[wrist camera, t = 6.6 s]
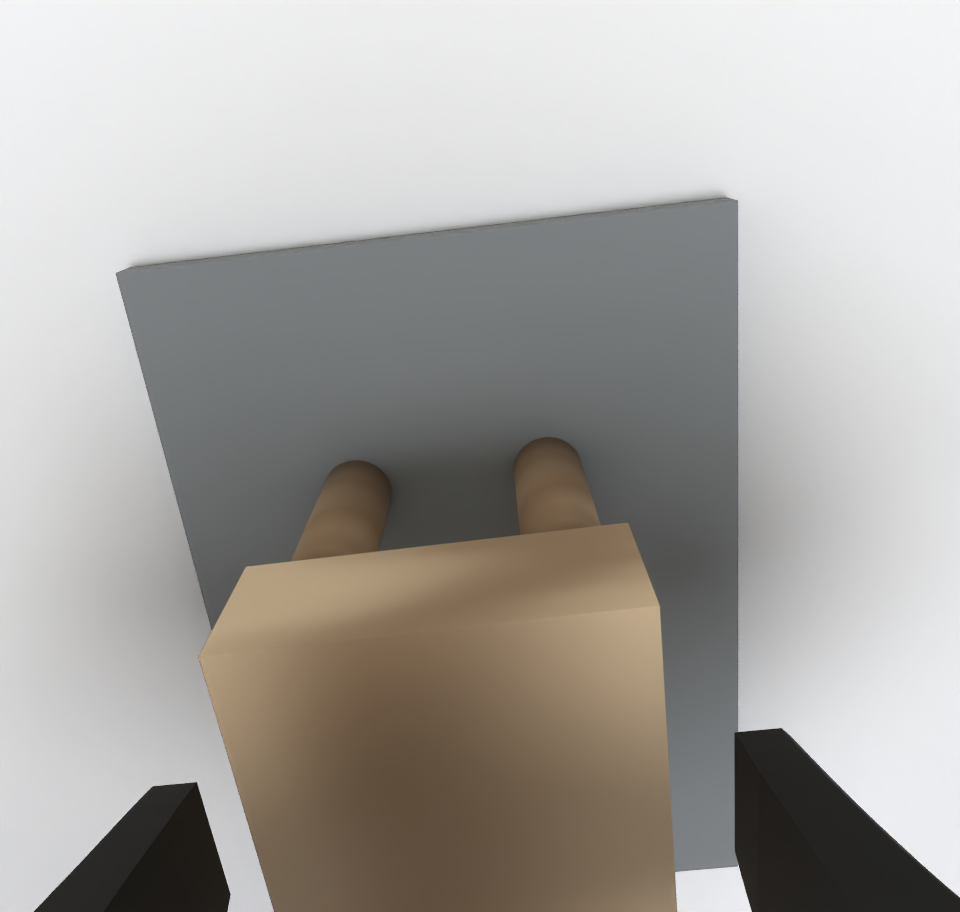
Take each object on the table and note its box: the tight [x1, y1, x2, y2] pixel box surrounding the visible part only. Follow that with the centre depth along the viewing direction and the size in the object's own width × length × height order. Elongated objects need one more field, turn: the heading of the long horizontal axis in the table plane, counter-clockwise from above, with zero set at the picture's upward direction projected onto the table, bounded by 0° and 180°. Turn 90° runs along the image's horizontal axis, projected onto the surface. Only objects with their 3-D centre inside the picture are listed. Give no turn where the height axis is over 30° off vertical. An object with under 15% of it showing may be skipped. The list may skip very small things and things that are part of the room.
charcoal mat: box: [116, 198, 738, 872], centre depth 16 cm, size 14×10×1 cm
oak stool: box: [198, 437, 677, 912], centre depth 13 cm, size 5×7×6 cm
